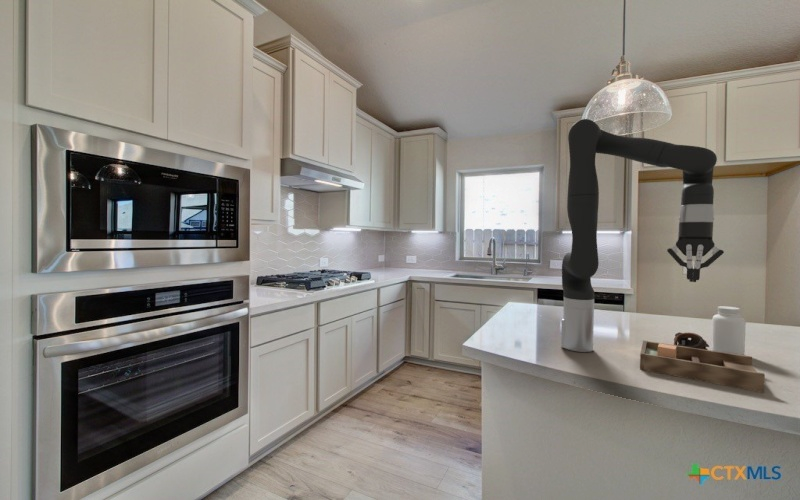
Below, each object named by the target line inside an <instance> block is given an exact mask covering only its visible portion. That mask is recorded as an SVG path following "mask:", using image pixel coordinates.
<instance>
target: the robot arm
mask: <svg viewBox="0 0 800 500" xmlns="http://www.w3.org/2000/svg"><path fill="white" fill-rule="evenodd" d="M567 139H568V150H569V174H568V183H567V194H566V195H567V200H566V208H567V217H568V221H569V225H570V230H571V233H572V234H571V235H572V236H571V237H572V240H571V250H570V251H568V252H567V253H566V254H565V255H564V256H563V258H562V263H561V286H562V290H563V291H562V292H563V310H562V311H563V315H562V319H561V326H560V327H561V328H560V329H561V333H560V335H561V336H560V348H563V349H566V350H568V351H573V352H576V353H577V352H579V353H589V352H592V351H594V328H595V327H594V326H595V325H594V324H595V323H594V321H595V320H594V319H595V291H594V288H593V286H592V283H591V282H592V281H591V278H592V277H593V276H594V275H595V274H596V273H597V271H598V269H599V263H600V262H599V251H598V239H597V238H598V237H597V234H598V221H599V220H598V217H599V204H600V201H599V200H600V199H599V197H600V196H599V195H600V192H599V191H600V190H599V180H598V179H599V178H598V175H597V174H598V173H597V168H596V157H597V156H596V154H602V155H603V154H604V155H609V156H613V157H614V156H615V157H620V158H623V159H627V160H631V161H634V162H639V163H643V164H646V165H649V166H654V167H655V166H656V167H658V168H659V167H660V168H672V169H675V170H681V171H682V191H681V197H680V198H681V201H680V210H679V215H678V235H677V236H678V237H677V240H676V242H675V245H673V246H672V247H669V248H667V250H666V251H667V253H668V254H669V256H671V257H672V258H673V260H674V261H676V263H677V264H678V265H679V266H681V267H684V268H686V280H688V281H689V282H690V283H697V281H699V280H700V278H701V277H700V274H701V269H703V268H708V267H709V266H711V264H714V262H715V261H716V260H717V259H718V258H720V257H721V256H722V255H723V254H724V252H725V251H724V250H723V249H720V248H718V247H717V246H715V245H716V244H715V242H714V240H713V234H714V233H713V232H714V220H715V212H714V197H715V196H714V195H715V192H714V186H713V179H714V178H713V177H714V167H716V164H717V162H718V161H717V160H718V157H717V154H716V153H715V152H714V151H713V150H712V149H709V148H706V147H701V146H696V145H685V144H675V143H672V142H668V141H664V140H663V141H662V140H659V139H653V138H647V137H646V138H645V137H633V136H623V135H618V134H613V133H610V132H608V131H606V130H603V129H601V128H600V126H599V125H598V123H597V122H596V121H593V120H592V119H588V118H583V119H579V120H576V121H575V123H574V124H572V126H571V127H570V129H569V131H568V136H567ZM678 251H680V252H681V253H682V254H683V255H684V256H685V257H686V262H685V261H683V259H682V258H681V257H680V256H679V255H678V254H677V253H678ZM709 252H710V253H711V256H710V257H709V258H707V259H706V260H705V261H704V262H702V260H703V257H704V256H706V255H707V254H708V253H709ZM693 257H695V259H694V260H695V261H694V268H693Z"/></svg>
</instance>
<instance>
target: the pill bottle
mask: <svg viewBox="0 0 800 500" xmlns="http://www.w3.org/2000/svg"><path fill="white" fill-rule="evenodd" d="M740 313H741V308H739V307H735V306H729V305H728V306H727V305H726V306H723V305H722V306H721V305H719V306H717V314H714V315H713V316H712V317H711V319H712V320H711V351H718V352H724V353H731V354H738V355H745V350H746V325H747V324H746V323H747V322H746V320H745V319H744V318H743V317H741V314H740Z"/></svg>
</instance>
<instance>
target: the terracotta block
mask: <svg viewBox="0 0 800 500" xmlns="http://www.w3.org/2000/svg"><path fill="white" fill-rule="evenodd" d="M658 343H659V345H658V353H657V356H663V357H669V358H675V359H676V348H677V346H673V345H674V344H670V345H667V344H668V343H664V344H661V343H662V342H658Z"/></svg>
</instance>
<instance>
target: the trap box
mask: <svg viewBox="0 0 800 500" xmlns="http://www.w3.org/2000/svg"><path fill="white" fill-rule="evenodd" d="M659 343H661V344H665V343H663V342H658V341H657V342H656V341H648V340H643V339H642V344H641V349H640V354H639V357H640V359H639V370H642V371H648V372H652V373H658V374H663V375H669V376H674V377H680V378H685V379H690V380H695V381H699V382H700V381H701V382H706V383H711V384H715V385H722V386H726V387H732V388H738V389H742V390H746V391H747V390H748V391H753V392H758V393H765V375H766V374H765V373H764V372H758V371H757V370H756V368H755V366H753V356H749V355H745V354H744V355H738V354H731V353H724V352H718V351H712V349H710V350H709V349H708V350H704V349H697V348H691V347H684V346H677V345H678V344H677V345H674V344H672V345H673V346H677V348H676V359H675V358H669V357H663V356H657V353H658V345H659ZM666 344H667V345H671V344H669V343H666Z"/></svg>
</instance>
